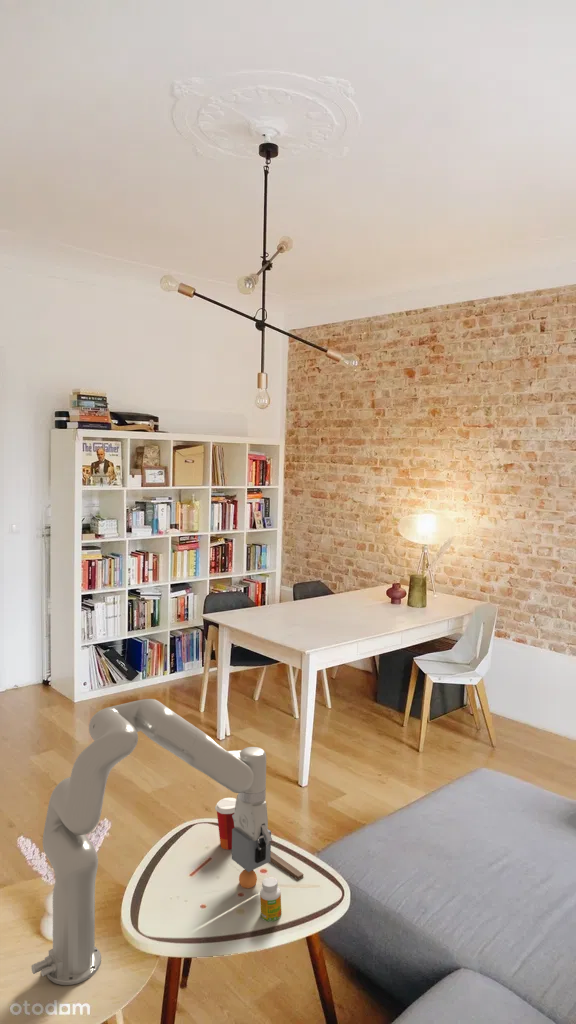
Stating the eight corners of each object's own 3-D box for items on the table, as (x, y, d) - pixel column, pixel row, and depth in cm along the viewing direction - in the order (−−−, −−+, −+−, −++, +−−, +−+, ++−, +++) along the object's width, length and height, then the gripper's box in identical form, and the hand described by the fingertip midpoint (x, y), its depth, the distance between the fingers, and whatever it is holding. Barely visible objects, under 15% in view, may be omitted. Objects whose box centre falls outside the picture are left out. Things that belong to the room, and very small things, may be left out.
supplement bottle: (267, 927, 174) (266, 891, 173) (257, 915, 178) (255, 880, 177) (285, 918, 177) (284, 883, 176) (274, 907, 181) (273, 872, 180)
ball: (263, 879, 190) (252, 895, 188) (252, 871, 194) (241, 886, 191) (254, 870, 188) (243, 886, 185) (243, 862, 191) (232, 878, 189)
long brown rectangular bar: (297, 885, 191) (298, 876, 191) (262, 858, 203) (262, 850, 203) (303, 882, 193) (303, 873, 192) (267, 856, 205) (267, 848, 204)
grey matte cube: (248, 872, 184) (249, 840, 184) (231, 859, 190) (232, 828, 189) (270, 861, 189) (271, 831, 189) (253, 849, 195) (254, 819, 194)
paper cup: (244, 839, 212) (242, 796, 211) (240, 854, 205) (238, 810, 203) (219, 839, 213) (217, 796, 212) (214, 853, 206) (212, 809, 204)
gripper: (222, 785, 192) (221, 845, 194) (261, 810, 179) (259, 874, 180) (243, 777, 197) (242, 835, 198) (282, 801, 184) (281, 863, 185)
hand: (251, 853), depth 189 cm, fingers closed on grey matte cube, 7 cm apart
